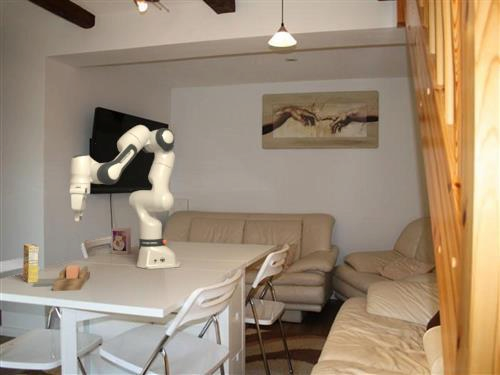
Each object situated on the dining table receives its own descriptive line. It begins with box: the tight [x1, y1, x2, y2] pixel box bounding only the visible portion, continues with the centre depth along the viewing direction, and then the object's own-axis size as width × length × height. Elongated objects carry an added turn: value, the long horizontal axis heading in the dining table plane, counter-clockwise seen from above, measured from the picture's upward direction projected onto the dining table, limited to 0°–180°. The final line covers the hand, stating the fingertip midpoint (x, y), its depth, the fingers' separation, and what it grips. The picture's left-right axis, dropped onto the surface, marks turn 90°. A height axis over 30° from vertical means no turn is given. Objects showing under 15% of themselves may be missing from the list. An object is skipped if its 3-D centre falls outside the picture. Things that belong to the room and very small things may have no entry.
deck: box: [52, 265, 91, 292], centre depth 180 cm, size 10×24×6 cm, turn 12°
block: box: [66, 265, 81, 279], centre depth 181 cm, size 4×4×4 cm
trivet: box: [32, 277, 59, 288], centre depth 179 cm, size 9×9×1 cm
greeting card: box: [111, 227, 132, 255], centre depth 264 cm, size 11×7×15 cm, turn 73°
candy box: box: [22, 243, 40, 284], centre depth 184 cm, size 9×4×15 cm, turn 41°
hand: (78, 220), depth 194 cm, fingers open, 8 cm apart
